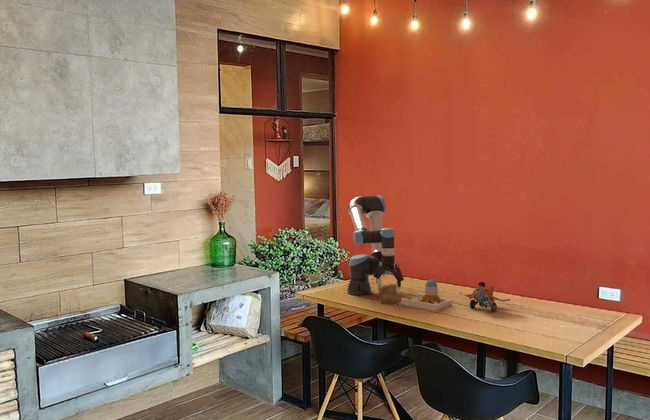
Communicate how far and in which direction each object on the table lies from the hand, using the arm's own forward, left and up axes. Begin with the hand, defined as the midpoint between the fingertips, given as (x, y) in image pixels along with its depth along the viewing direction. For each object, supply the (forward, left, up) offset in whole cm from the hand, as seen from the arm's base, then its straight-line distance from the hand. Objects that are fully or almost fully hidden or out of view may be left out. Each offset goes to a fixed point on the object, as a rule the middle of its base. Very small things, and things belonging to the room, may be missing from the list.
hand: (388, 291), depth 341 cm
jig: (+22, +5, -6) cm, 23 cm away
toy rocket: (+26, +5, -5) cm, 27 cm away
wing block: (0, 0, -6) cm, 6 cm away
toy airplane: (+52, +18, -6) cm, 55 cm away
